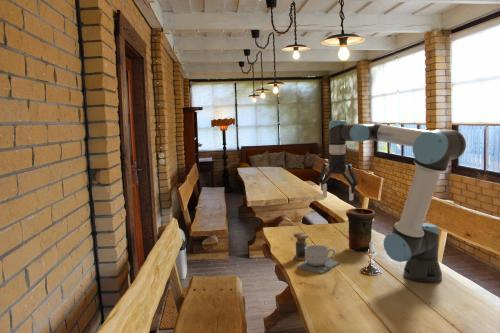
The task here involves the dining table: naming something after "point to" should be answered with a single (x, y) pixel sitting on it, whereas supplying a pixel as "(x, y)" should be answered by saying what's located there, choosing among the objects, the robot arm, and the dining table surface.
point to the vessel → (359, 229)
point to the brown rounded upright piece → (300, 246)
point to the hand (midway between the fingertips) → (337, 198)
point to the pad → (319, 269)
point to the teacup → (317, 254)
